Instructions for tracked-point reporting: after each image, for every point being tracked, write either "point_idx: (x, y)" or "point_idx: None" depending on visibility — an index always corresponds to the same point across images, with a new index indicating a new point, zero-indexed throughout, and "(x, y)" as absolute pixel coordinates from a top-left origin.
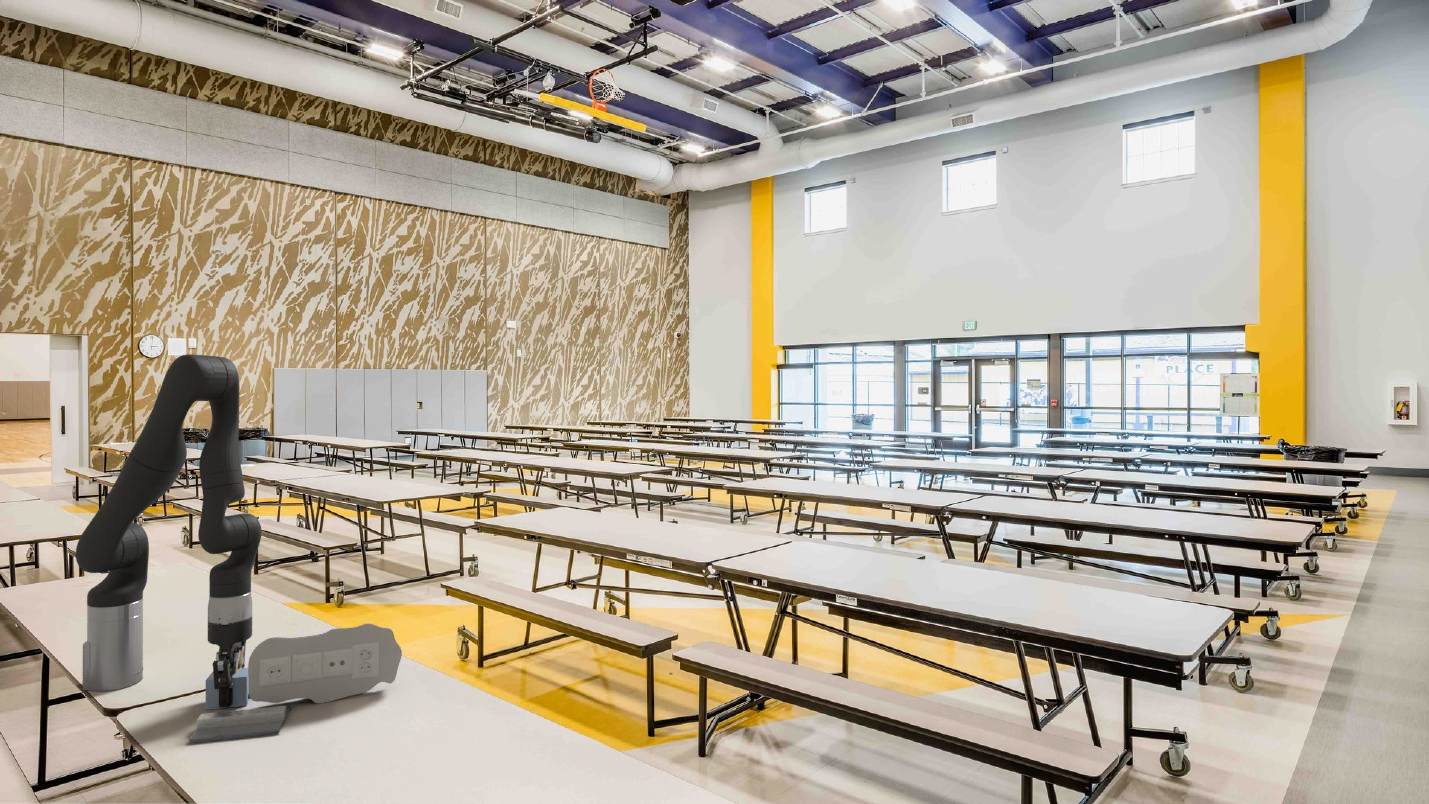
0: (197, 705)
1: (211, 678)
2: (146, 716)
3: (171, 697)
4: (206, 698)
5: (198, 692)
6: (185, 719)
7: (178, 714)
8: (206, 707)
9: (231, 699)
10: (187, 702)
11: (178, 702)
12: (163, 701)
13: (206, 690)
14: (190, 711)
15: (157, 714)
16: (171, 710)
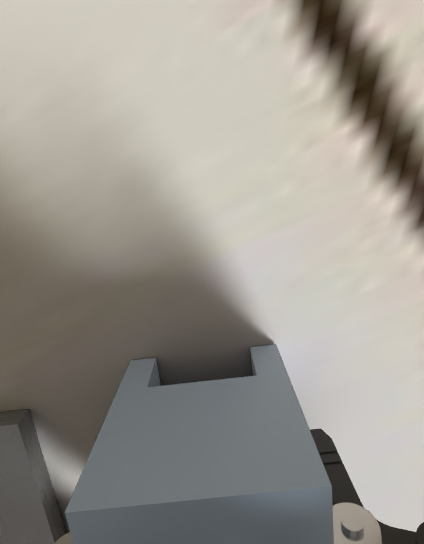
0: (202, 293)
1: (110, 540)
2: (59, 53)
3: (370, 70)
4: (114, 403)
5: (416, 215)
6: (11, 310)
7: (81, 243)
8: (129, 370)
9: None
10: (259, 217)
11: (269, 160)
12: (307, 46)
13: (99, 441)
14: (119, 290)
15: (87, 114)
16: (144, 174)
